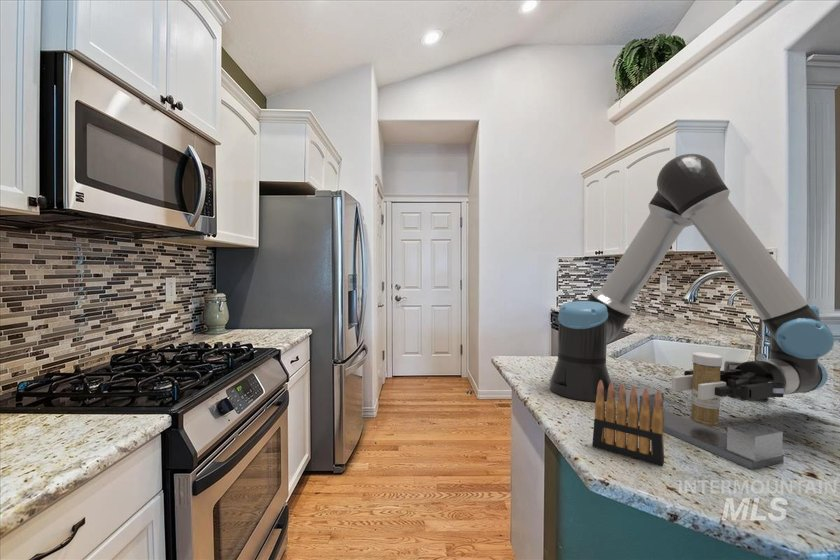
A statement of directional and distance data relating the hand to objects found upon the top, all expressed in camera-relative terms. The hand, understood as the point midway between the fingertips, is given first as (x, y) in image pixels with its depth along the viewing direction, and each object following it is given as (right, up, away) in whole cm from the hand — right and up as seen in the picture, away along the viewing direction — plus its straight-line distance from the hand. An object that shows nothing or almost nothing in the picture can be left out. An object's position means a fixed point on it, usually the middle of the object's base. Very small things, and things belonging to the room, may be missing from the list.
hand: (686, 388), depth 72 cm
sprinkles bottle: (+5, -7, +2) cm, 9 cm away
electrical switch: (+33, -10, +25) cm, 43 cm away
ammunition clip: (-15, -10, -7) cm, 19 cm away
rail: (+2, -9, +1) cm, 10 cm away
